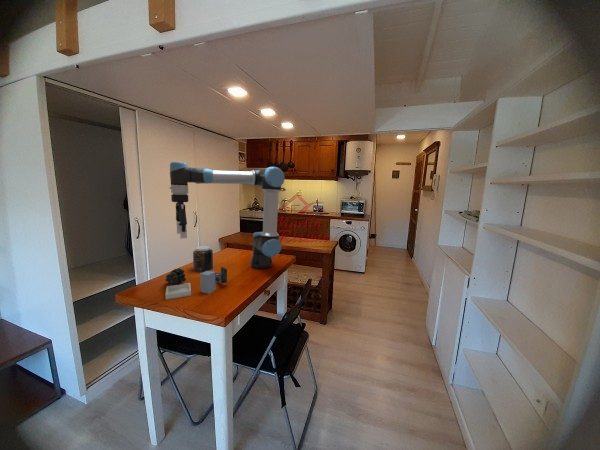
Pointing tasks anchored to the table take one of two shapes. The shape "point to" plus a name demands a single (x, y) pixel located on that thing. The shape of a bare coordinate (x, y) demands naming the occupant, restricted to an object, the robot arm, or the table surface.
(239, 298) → the table surface
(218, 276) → the crank
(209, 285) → the block
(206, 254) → the jar
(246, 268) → the table surface
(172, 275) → the fruit
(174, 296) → the tray
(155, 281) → the table surface
